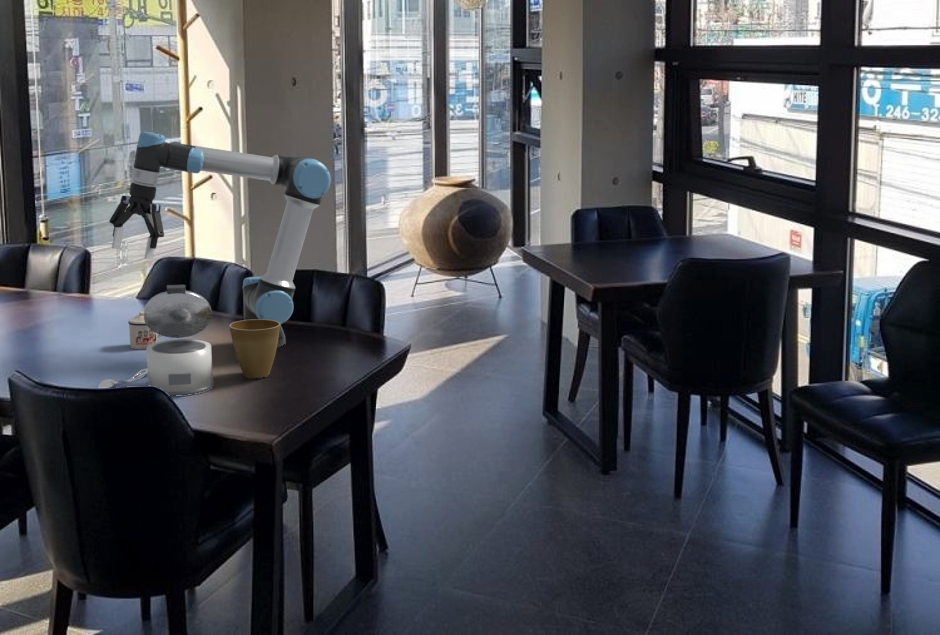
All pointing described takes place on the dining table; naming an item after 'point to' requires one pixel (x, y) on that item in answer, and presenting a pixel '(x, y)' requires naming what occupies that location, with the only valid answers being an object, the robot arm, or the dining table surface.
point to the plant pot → (255, 345)
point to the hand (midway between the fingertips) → (132, 253)
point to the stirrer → (111, 382)
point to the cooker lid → (177, 312)
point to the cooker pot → (180, 366)
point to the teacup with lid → (141, 333)
